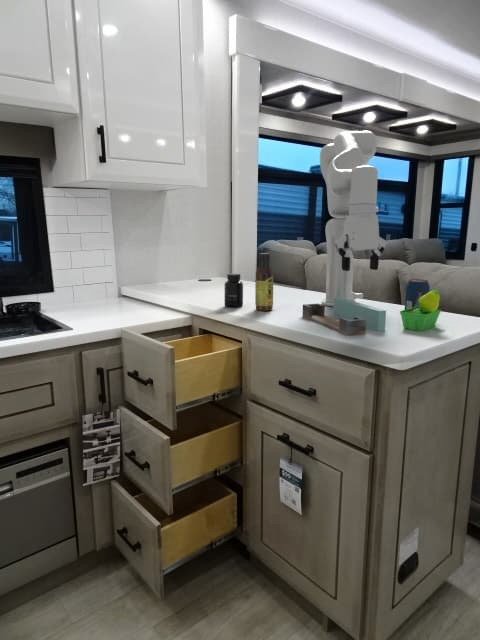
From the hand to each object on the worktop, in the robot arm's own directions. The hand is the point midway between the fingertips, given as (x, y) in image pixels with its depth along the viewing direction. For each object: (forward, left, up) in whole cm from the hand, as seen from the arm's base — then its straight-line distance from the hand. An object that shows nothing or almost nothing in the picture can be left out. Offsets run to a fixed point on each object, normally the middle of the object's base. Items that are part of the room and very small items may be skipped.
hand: (359, 270), depth 133 cm
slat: (0, 0, -16) cm, 16 cm away
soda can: (-21, +1, -16) cm, 27 cm away
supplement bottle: (+27, -39, -16) cm, 50 cm away
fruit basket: (-13, +13, -16) cm, 24 cm away
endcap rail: (+9, 0, -16) cm, 18 cm away
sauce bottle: (+19, -29, -16) cm, 39 cm away
